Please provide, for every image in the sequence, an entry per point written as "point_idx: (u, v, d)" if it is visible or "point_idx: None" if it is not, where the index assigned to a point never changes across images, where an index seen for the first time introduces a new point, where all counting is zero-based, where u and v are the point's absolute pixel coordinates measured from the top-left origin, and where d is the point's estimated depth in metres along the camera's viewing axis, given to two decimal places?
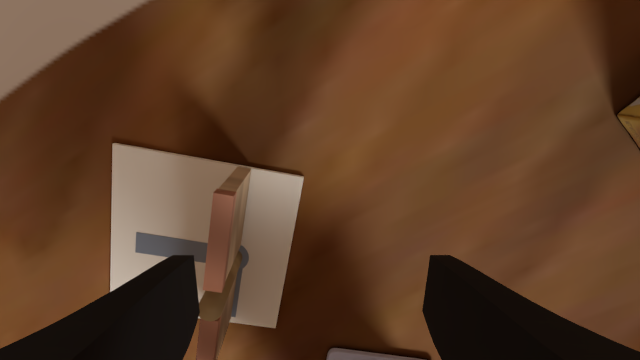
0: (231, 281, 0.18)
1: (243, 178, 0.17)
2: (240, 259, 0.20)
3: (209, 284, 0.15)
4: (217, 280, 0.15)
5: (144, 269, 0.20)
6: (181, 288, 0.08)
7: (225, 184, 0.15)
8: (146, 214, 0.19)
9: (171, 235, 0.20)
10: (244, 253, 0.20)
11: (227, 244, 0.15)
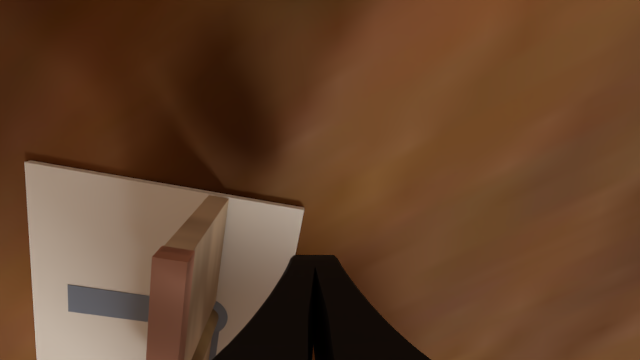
0: None
1: (212, 219, 0.11)
2: (215, 322, 0.14)
3: None
4: None
5: (82, 333, 0.15)
6: (313, 287, 0.09)
7: (179, 235, 0.10)
8: (81, 261, 0.14)
9: (118, 288, 0.14)
10: (221, 312, 0.15)
11: (180, 335, 0.09)
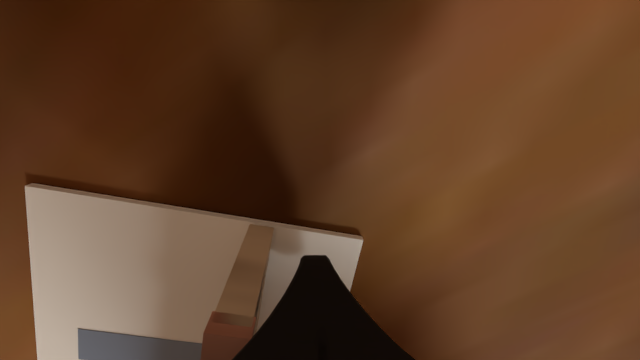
0: None
1: (263, 261, 0.09)
2: None
3: None
4: None
5: None
6: None
7: (230, 290, 0.07)
8: (94, 302, 0.11)
9: (138, 332, 0.12)
10: None
11: None
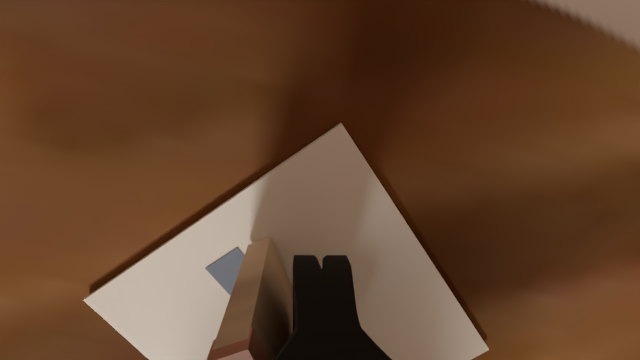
0: None
1: (259, 273, 0.09)
2: None
3: None
4: None
5: (191, 296, 0.11)
6: None
7: (230, 314, 0.07)
8: (276, 240, 0.11)
9: None
10: None
11: None
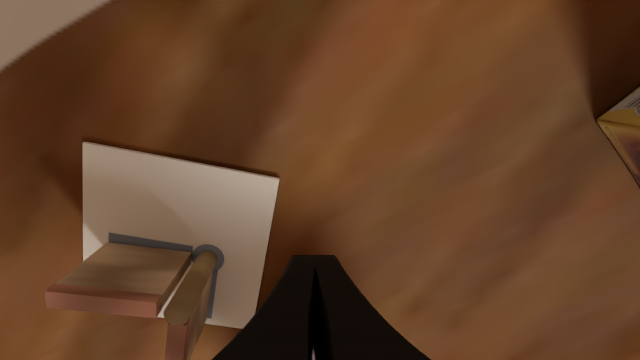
0: (202, 284, 0.17)
1: (84, 262, 0.17)
2: (215, 261, 0.20)
3: (148, 312, 0.15)
4: (142, 306, 0.15)
5: None
6: (314, 287, 0.09)
7: None
8: (119, 215, 0.19)
9: (144, 236, 0.19)
10: (219, 255, 0.20)
11: (99, 296, 0.15)
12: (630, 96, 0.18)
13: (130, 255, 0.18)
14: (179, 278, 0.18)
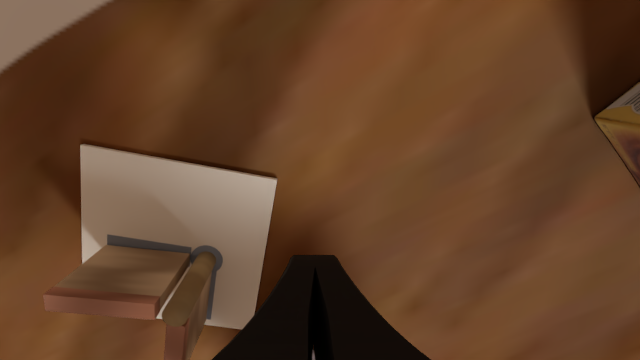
0: (201, 285, 0.17)
1: (82, 264, 0.17)
2: (213, 262, 0.20)
3: (146, 314, 0.15)
4: (140, 307, 0.15)
5: None
6: (314, 288, 0.09)
7: None
8: (117, 217, 0.19)
9: (143, 237, 0.19)
10: (218, 256, 0.20)
11: (97, 299, 0.15)
12: (627, 93, 0.18)
13: (129, 257, 0.18)
14: (178, 279, 0.18)
